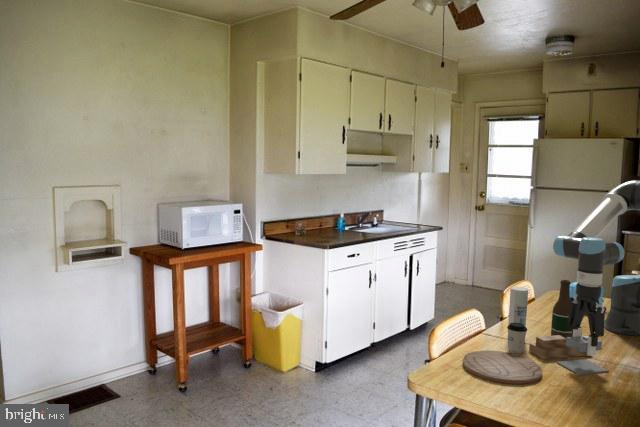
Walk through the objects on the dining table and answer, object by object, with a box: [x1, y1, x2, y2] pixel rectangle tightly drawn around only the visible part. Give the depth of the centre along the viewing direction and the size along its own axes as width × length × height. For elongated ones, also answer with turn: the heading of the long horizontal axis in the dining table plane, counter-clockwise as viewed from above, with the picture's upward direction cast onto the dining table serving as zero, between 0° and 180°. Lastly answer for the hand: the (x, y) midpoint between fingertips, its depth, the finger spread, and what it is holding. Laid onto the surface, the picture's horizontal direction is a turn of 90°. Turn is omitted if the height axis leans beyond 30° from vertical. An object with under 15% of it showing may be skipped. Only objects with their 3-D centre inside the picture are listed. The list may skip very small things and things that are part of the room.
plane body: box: [528, 330, 588, 360], centre depth 186 cm, size 20×8×8 cm, turn 105°
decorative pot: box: [570, 281, 605, 307], centre depth 247 cm, size 16×16×14 cm
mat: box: [556, 358, 609, 376], centre depth 174 cm, size 12×10×1 cm
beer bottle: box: [550, 279, 572, 338], centre depth 199 cm, size 8×8×24 cm
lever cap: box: [566, 335, 603, 352], centre depth 173 cm, size 9×6×4 cm, turn 105°
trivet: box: [462, 350, 543, 386], centre depth 171 cm, size 25×25×2 cm
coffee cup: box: [506, 323, 528, 355], centre depth 187 cm, size 7×7×10 cm
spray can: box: [507, 286, 529, 328], centre depth 200 cm, size 6×6×20 cm
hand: (583, 351), depth 173 cm, fingers closed on lever cap, 6 cm apart
